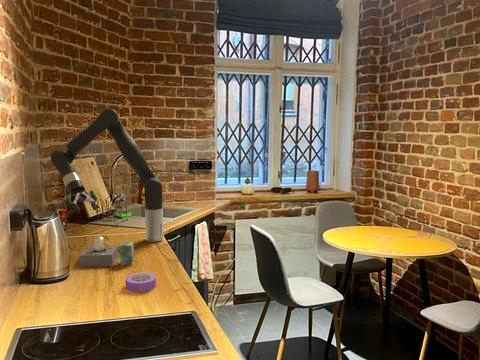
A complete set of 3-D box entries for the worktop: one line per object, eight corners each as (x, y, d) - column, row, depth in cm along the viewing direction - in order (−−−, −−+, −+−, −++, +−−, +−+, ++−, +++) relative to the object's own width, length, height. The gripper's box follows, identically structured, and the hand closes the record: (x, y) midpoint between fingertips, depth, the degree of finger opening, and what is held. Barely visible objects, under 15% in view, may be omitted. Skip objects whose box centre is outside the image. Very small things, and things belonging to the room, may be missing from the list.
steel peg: (105, 259, 202) (104, 236, 200) (103, 262, 198) (102, 238, 196) (96, 259, 202) (95, 236, 200) (94, 262, 198) (93, 238, 196)
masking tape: (161, 283, 174) (161, 274, 173) (146, 294, 163) (145, 284, 162) (136, 279, 177) (136, 270, 177) (119, 290, 167) (119, 280, 166)
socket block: (118, 255, 207) (118, 245, 206) (112, 265, 193) (111, 254, 193) (88, 256, 206) (87, 246, 205) (80, 266, 192) (79, 255, 191)
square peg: (133, 261, 200) (133, 242, 198) (132, 265, 195) (131, 245, 193) (122, 261, 199) (122, 242, 198) (120, 265, 194) (119, 245, 193)
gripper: (61, 180, 204) (75, 208, 198) (89, 177, 214) (103, 203, 209) (57, 190, 208) (70, 217, 202) (84, 187, 219) (98, 212, 213)
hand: (87, 210), depth 205 cm, fingers open, 8 cm apart
